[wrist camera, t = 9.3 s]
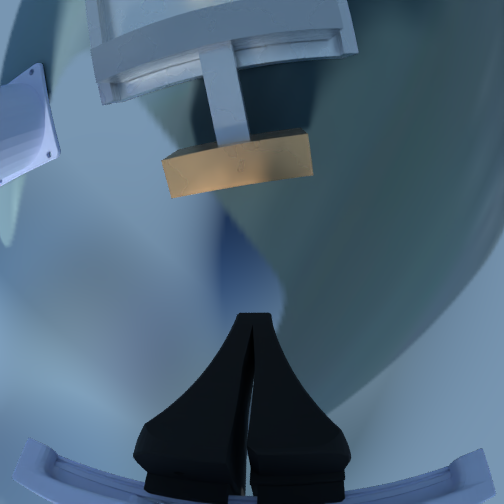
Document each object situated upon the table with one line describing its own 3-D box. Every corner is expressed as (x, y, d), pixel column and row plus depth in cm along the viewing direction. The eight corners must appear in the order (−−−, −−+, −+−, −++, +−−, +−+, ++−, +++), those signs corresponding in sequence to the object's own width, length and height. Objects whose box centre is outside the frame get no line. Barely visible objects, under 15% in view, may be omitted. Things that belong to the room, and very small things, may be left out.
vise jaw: (148, 190, 17) (129, 207, 15) (116, 54, 13) (90, 49, 11) (348, 157, 16) (363, 169, 13) (323, 8, 12) (334, -8, 9)
